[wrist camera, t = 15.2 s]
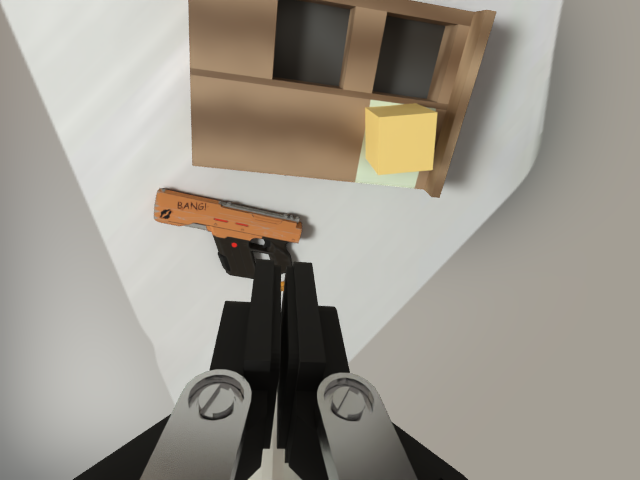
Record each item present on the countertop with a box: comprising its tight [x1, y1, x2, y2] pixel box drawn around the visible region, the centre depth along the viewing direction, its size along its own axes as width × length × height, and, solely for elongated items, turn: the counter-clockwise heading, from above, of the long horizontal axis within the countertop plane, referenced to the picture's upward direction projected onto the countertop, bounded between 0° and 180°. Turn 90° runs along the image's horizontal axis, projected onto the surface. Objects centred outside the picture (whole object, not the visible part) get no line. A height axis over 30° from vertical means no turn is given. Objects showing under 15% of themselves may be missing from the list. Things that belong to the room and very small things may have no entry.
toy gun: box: [154, 188, 302, 291], centre depth 39 cm, size 15×2×10 cm
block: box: [365, 103, 437, 175], centre depth 31 cm, size 4×4×5 cm
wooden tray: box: [188, 0, 496, 198], centre depth 31 cm, size 15×23×5 cm, turn 82°
